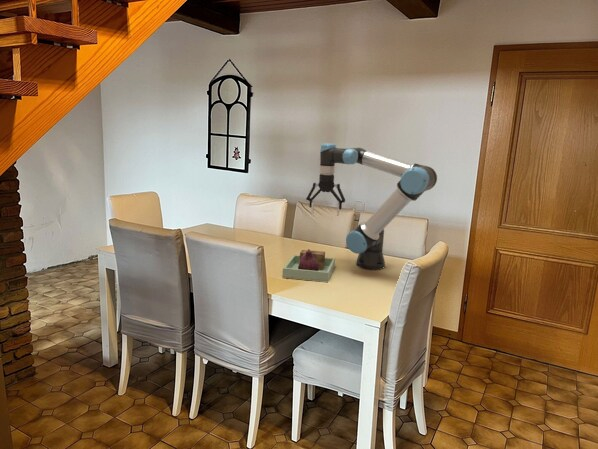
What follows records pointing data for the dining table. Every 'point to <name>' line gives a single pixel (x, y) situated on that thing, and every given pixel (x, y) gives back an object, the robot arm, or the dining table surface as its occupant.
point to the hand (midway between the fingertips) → (325, 214)
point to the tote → (294, 272)
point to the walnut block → (316, 258)
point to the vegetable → (308, 262)
